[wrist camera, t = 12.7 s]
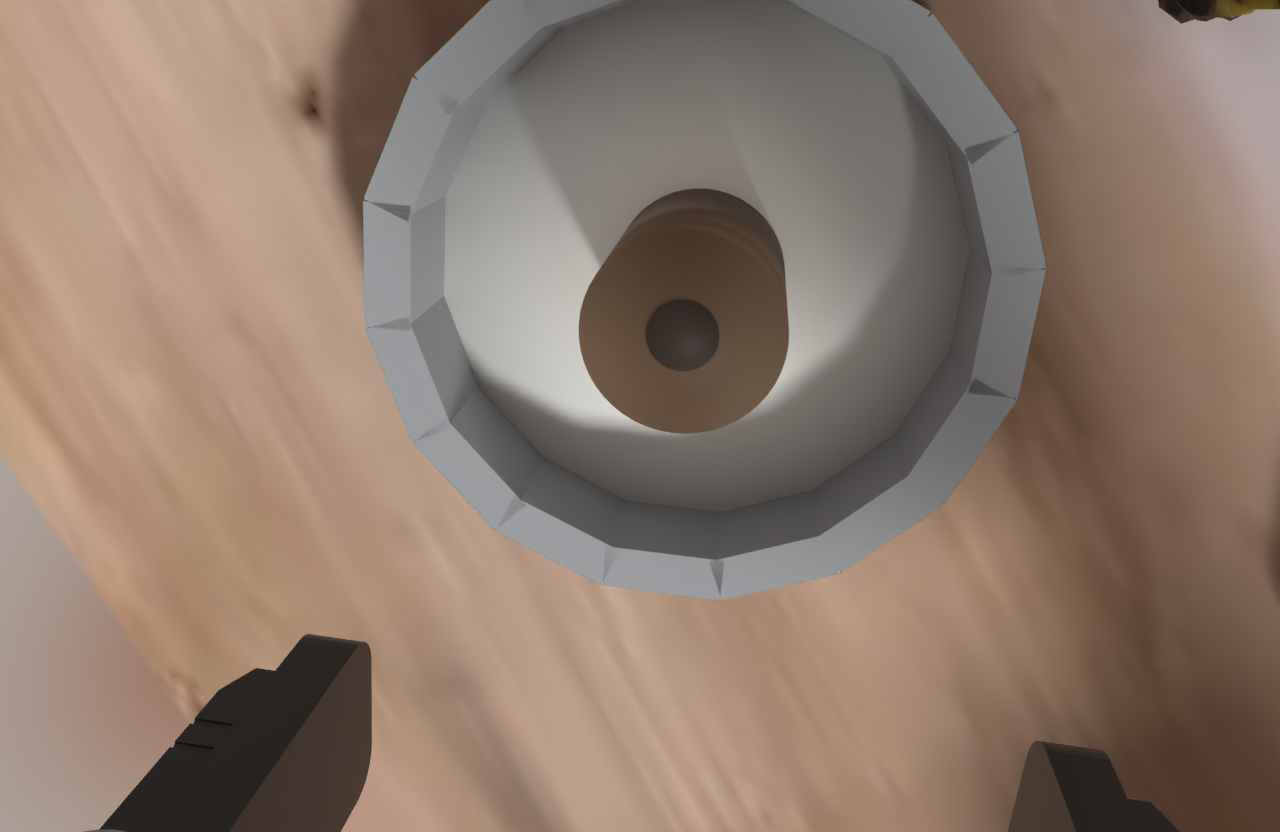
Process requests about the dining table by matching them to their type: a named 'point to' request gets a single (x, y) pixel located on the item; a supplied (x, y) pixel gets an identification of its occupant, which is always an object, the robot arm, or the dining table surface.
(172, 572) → the dining table surface
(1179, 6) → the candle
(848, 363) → the round tray
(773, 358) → the walnut bead
